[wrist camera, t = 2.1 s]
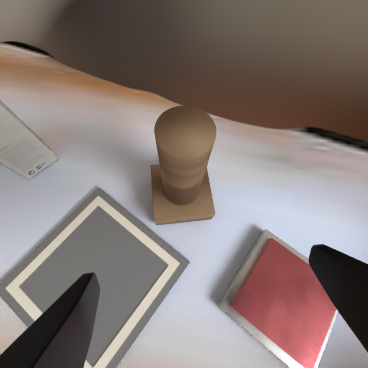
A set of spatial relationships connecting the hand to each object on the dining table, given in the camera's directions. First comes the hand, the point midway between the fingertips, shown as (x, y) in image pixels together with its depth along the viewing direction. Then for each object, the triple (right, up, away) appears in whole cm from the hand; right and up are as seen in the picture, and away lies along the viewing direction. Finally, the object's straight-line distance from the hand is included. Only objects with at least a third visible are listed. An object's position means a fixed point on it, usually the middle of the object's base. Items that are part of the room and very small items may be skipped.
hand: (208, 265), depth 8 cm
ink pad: (+9, -8, +11) cm, 16 cm away
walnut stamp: (-1, +2, +15) cm, 15 cm away
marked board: (-10, -6, +11) cm, 16 cm away
